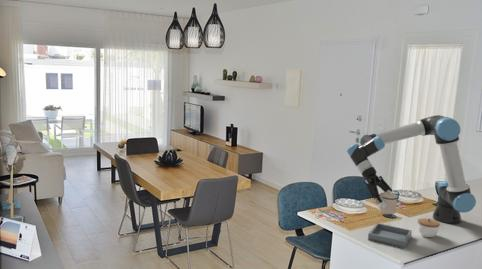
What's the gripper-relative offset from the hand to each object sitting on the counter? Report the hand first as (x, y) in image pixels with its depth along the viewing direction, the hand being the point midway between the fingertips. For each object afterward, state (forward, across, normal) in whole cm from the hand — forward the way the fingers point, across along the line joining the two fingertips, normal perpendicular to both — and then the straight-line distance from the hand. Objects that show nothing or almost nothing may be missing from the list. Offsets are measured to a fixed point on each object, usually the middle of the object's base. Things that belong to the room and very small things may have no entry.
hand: (390, 205), depth 218 cm
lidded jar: (+21, -18, -3) cm, 28 cm away
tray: (+14, +2, -10) cm, 17 cm away
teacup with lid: (+1, 0, -5) cm, 5 cm away
